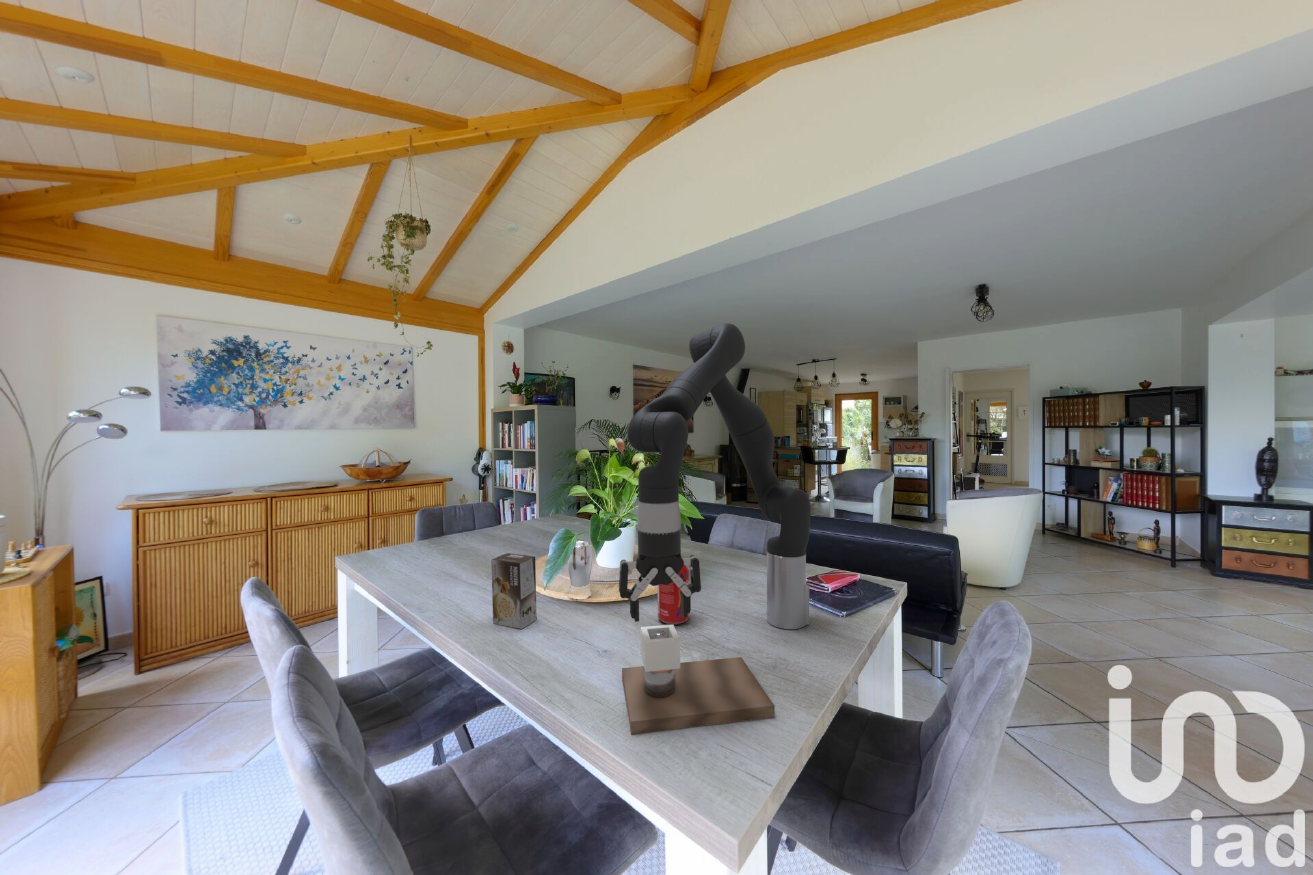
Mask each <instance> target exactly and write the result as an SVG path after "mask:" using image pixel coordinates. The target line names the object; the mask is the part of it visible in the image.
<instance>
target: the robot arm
mask: <svg viewBox="0 0 1313 875" xmlns="http://www.w3.org/2000/svg"><path fill="white" fill-rule="evenodd" d="M688 344H689V345H688V348H689V349H688V350H689V353H690V356H691V359H692V362H693V363H692V364H691V365H690V366H688V367H686V368H685V369H684V370H683V371H681V373H679V374H678V375H677V376H676V377H675V378H674V379H672V381H671V382H670V384H668V386H667V387H666V388H665V390H664V391H663V392H662V393H661V395H659V396H658V397H656V398H655V399H653V400H651V401H650V402H649V403H647V404H646V405H644V406H643V407H642V408H640V409H639V410H638V411H637V412H636V413H635V414H634V415H633V416H632V418H631V419H630V422H629V424H628V427H627V435H626V436H627V440H628V442H629V445H630V446H631V447H632V448H633V449H634V450H635V451H637V452H641V453H660V456H659V458H658V461H657V463H656V464H654V465H650V466H646V467H643V468H641V469H640V471H639V472H638V485H637V486H638V506H637V553H638V554H637V558H636V560H635V561H627V560H626V559H621V560H620V562H619V578H618V579H619V581H618V583H619V584H618V593H619V597H620V598H622V599H628V600H629V614H630V617H631V619H634V622H637V623H638V622H640V601H639V597H640V596H641V594H642V593H643V592H644V591H645V590H646V589H647V587H648V586H649V585H651V586H652V587H658V585H660V584H663V585H670V583H672V582H673V581H674V583H675V584H676V585H677V586H678V588H679V589H680V590H681V591H682V593H681V614H682V616H683V617H687V614H688V613H689V614H691V610H692V606H691V605H692V604H691V602H692V601H691V598H692V595H693V594H695V593H700V592H701V590H702V583H701V569H700V568H701V566H700V560H699V559H698V558H697V556H696V555H694V554H691V555H690V556H689V557H682V542H681V541H682V540H681V539H682V537H681V536H682V535H681V528H682V527H681V526H682V519H681V508H680V501H679V500H680V498H679V497H680V496H679V495H680V492H679V490H680V489H679V487H680V486H679V476H680V472H681V469H682V463H683V458H684V454H685V451H686V447H687V443H688V440H689V439H688V438H689V428H688V424H687V423H688V422H689V421H690V420H691V419H692V418H693V416H694V415H695V413H696V412H697V410H698V408H699V407H700V406H701V405H702V402H704V400H705V398H706V397H707V395H708V394H709V393H710V394H711V397H712V398H713V400H714V403H715V405H716V406H717V409H718V410H719V413H720V414H721V417H722V420H723V421H724V424H725V426H726V428H727V430H728V433H729V435H730V438H731V440H732V443H733V444H734V446H735V449H736V451H737V452H738V454H739V457H740V459H741V461H742V464H743V466H744V468H745V470H746V473H747V475H748V477H749V479H750V482H751V485H752V488H753V491H754V494H755V497H756V501H757V503H758V504H757V505H758V507H759V509H760V511H761V513H762V516H763V517H764V518H766V519H767V520H768V521H771V522H773V523H775V524H780V527H779V528H780V529H779V535H776V536H772V537H770V538H768V540H767V542H766V621H767V623H768V624H770V625H771V626H773V627H776V628H779V629H785V630H799V629H801V628H804V627H805V626H810V586H809V585H808V584H807V583H806V582H807V581H806V580H807V565H806V564H807V559H806V558H807V547H808V543H809V541H810V527H811V513H812V512H811V511H812V509H811V501H810V497H809V495H808V494H807V492H806V491H805V490H804V489H801V488H796V487H789V486H783V485H782V484H781V482H780V480H779V478H778V476H777V473H776V472H775V469H774V466H773V458H774V451H775V436H774V432H773V430H772V428H771V425H770V422H769V420H768V418H767V415H766V413H765V412H764V411H763V409H762V408H761V407H760V406H759V405H757V403H755V402H754V401H753V400H752V399H750V397H748V396H746V395H745V394H744V393H743V392H741V391H739V389H737V388H736V387H735V386H734V385H733V384H732V383H731V381H730V380H729V378H728V377H727V374H728V373H729V372H730V371H731V370H732V369H734V367H735V366H737V365H738V364H739V363H740V362H741V361H742V359H743V358H744V355H745V353H746V342H745V339H744V335H743V334H742V332H741V330H740V329H739V327H737V326H736V325H735V324H733V323H728V322H727V323H721V324H718V325H716V326H713V327H711V328H709V329H706V330H704V331H701V332H698V333H696V334H694V335H693V336H692V337H691V338H690V340H689V343H688ZM684 565H686V567H687V568H688V570H689V576H690V583H689V584H688V585H686V584H685V583H684V582H683V580H682V579H681V578H680V576H679V575H678V574H679V572H680V571H681V569H682V568H683V566H684ZM634 569H636V570H637V572H638V573H639V575H638V577H636V578H637V579H636V580H635V582H634V584H633V585H632V587H631V588H628V586H629V584H628V582H629V575H631V574H633V571H634Z"/></svg>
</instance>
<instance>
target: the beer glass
mask: <svg viewBox="0 0 1313 875" xmlns="http://www.w3.org/2000/svg"><path fill="white" fill-rule="evenodd" d="M592 565H593V550H592V542H590V541H587V540H576V546H575V547H574V549H573V552H572V555H571V556H570V558H569V560H568V561H567V569H568V575H569V580H570V581H569V582H570V586H571V585H572V586H574V587H582V586H586V585H588V584H590V583H589V582H591V581H590V580H591V574H592V567H593V566H592Z"/></svg>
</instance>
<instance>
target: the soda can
mask: <svg viewBox="0 0 1313 875" xmlns="http://www.w3.org/2000/svg"><path fill="white" fill-rule="evenodd" d="M678 575H679V576H680V578H681V579H682V580H683V582H684V583H685V584H686V585H688V584H690V570H688V568H687V567H686V565H684V566H683V568H682V569H681V571H680V572H679V574H678ZM681 593H682V591H681V590H680V589H679V588H678V586H677V585H676V584H675V583H674V581H673V582H672V583H670V585H663V584H660V585H657V618H658V620H660V621H661V622H663V623H665V624H666V625H674V626H675V625H681V624H683V623H685V622H687V621H688V620H689V619H690V613H688V614H687V617H683V616H682V614H681Z"/></svg>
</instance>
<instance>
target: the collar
mask: <svg viewBox="0 0 1313 875" xmlns="http://www.w3.org/2000/svg"><path fill="white" fill-rule="evenodd" d="M656 630H663V631H665V632H666V638H661V639H653V632H654V631H656ZM640 655H641V659H642V663H643V666H644V668H645V672H648V671H659V670H669V669H680V663H681V639H680V636H679V634H678V633H677V630H676V627H675V625H672V624H662V625H651V626H641V627H640Z"/></svg>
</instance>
